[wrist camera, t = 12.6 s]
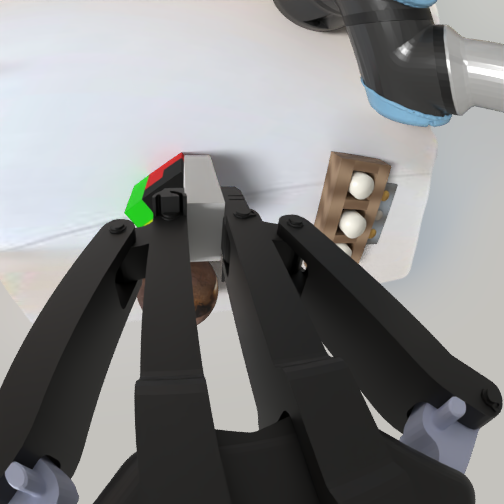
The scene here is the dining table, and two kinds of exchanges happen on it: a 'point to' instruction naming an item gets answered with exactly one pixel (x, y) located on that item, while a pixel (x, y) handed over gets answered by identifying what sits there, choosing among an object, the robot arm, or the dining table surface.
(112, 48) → the dining table surface
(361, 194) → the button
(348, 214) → the middle button
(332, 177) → the button board
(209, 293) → the wooden sphere
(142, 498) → the robot arm
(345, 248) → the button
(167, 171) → the puzzle toy
